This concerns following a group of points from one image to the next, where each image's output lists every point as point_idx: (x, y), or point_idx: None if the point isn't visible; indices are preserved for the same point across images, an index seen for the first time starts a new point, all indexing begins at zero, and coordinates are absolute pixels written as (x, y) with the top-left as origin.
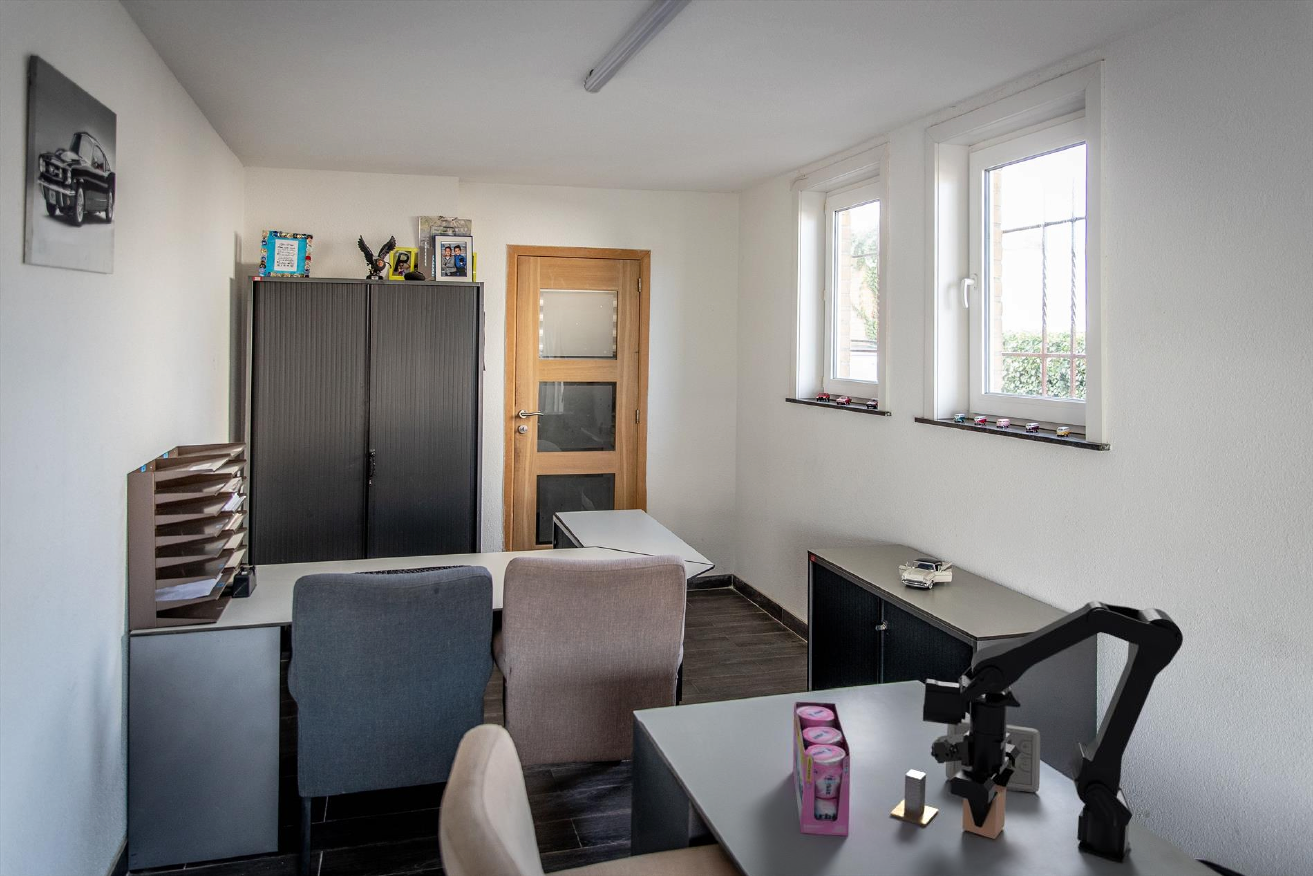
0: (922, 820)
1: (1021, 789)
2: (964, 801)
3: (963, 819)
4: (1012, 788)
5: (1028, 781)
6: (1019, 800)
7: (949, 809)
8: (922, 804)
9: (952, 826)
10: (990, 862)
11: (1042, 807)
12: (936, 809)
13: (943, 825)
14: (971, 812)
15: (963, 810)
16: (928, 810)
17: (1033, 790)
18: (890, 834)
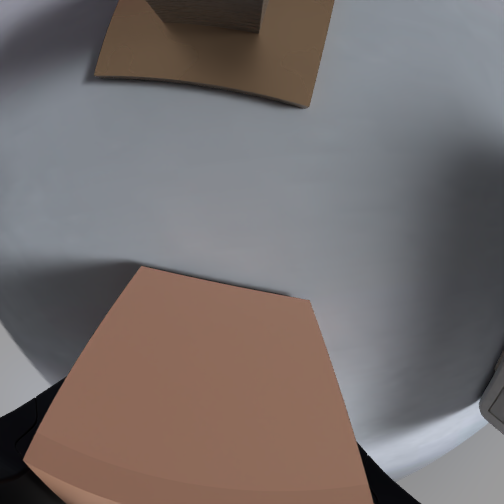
0: (123, 50)
1: (491, 384)
2: (67, 385)
3: (120, 297)
4: (501, 365)
5: (496, 411)
6: (457, 386)
7: (369, 172)
8: (208, 2)
9: (173, 207)
10: (28, 348)
11: (421, 427)
12: (305, 98)
13: (160, 159)
14: (56, 383)
15: (97, 330)
16: (271, 53)
17: (480, 405)
18: (19, 6)
